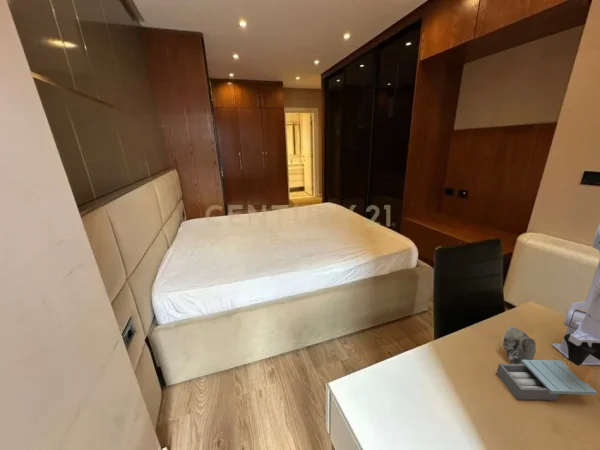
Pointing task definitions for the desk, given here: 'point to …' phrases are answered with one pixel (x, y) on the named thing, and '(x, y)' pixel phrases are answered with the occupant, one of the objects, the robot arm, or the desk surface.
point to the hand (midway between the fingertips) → (585, 359)
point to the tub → (523, 383)
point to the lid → (561, 376)
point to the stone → (518, 345)
